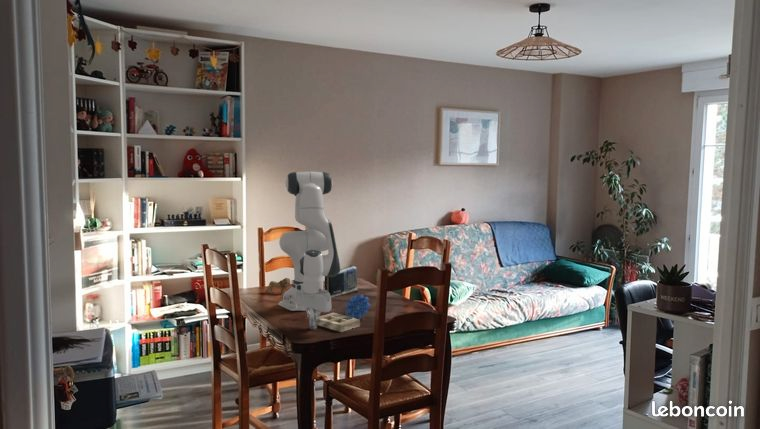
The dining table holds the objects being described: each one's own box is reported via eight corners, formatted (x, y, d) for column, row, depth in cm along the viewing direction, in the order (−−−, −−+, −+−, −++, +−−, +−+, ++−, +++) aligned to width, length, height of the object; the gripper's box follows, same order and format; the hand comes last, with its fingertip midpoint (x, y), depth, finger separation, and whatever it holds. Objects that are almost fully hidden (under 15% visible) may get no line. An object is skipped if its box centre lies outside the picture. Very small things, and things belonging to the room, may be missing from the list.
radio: (327, 298, 302) (327, 271, 300) (318, 295, 308) (318, 269, 307) (360, 292, 317) (361, 266, 315) (351, 289, 323) (351, 264, 322)
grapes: (369, 316, 269) (369, 291, 268) (370, 320, 262) (370, 295, 261) (344, 316, 267) (344, 292, 266) (345, 320, 261) (345, 295, 259)
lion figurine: (291, 292, 314) (291, 277, 313) (288, 295, 308) (288, 279, 308) (266, 291, 316) (266, 275, 315) (263, 293, 311) (263, 277, 310)
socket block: (314, 324, 255) (314, 317, 254) (333, 318, 264) (333, 312, 263) (341, 332, 244) (341, 324, 243) (360, 326, 253) (360, 319, 252)
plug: (308, 328, 249) (308, 306, 248) (313, 326, 251) (313, 304, 250) (312, 329, 246) (313, 307, 245) (318, 328, 249) (318, 306, 248)
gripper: (334, 290, 243) (334, 321, 244) (303, 282, 256) (303, 312, 257) (324, 292, 238) (324, 324, 239) (292, 285, 251) (292, 315, 252)
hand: (313, 318), depth 248 cm, fingers closed on plug, 3 cm apart
